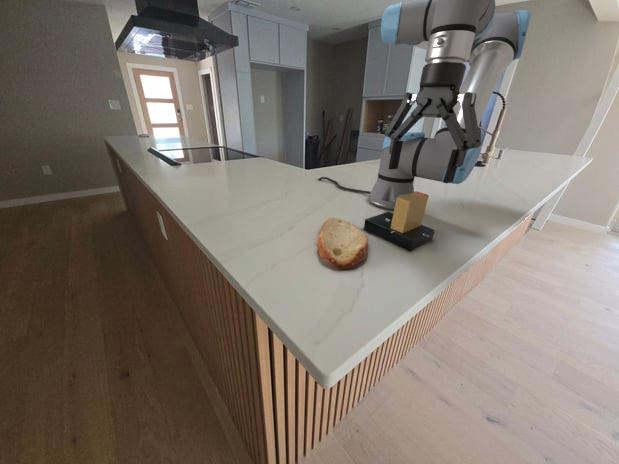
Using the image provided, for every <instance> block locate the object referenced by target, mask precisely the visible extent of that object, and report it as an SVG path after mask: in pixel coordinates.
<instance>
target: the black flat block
mask: <svg viewBox="0 0 619 464" xmlns="http://www.w3.org/2000/svg"><path fill="white" fill-rule="evenodd" d="M393 214H394V212H390V211H386V212H383V213H379V214H377V215H374V216H370V217H368V218H364V225H363V230H364V231H367V232H368V233H370V234H372V235H375V236H377V237H379V238H380V239H383V240H385V241H387V242H389V243H391V244H393V245H395V246H397V247H399V248H402V249H403V250H406V251H408V252H412V251H414V250H416V249H418V248H419V247H421V246H424V245H426V244H427V243H429V242H431V241H432V240H433V237H434V234H435V232H436V229H434V228H432V227H429V226H426V225H424V224H421V226H419V227H417V228H414V229H412V230H410V231H407V232H405V233H401V232H398V231H396V230H394V229H391V223H392V218H393Z"/></svg>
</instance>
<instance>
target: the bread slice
mask: <svg viewBox="0 0 619 464" xmlns="http://www.w3.org/2000/svg"><path fill="white" fill-rule="evenodd" d="M368 244H369V239H368V237H367V235H366V233H365V232H362V230H360V228H359V227H357V225H355V224H353V223H351V222H349V221H346V220H345V219H341V218H336V217H327V218H326V220H324V222H323V224H322V227H321V230H320V232H319V235H318V238H317V243H316V246H317V251H318V254H319V256H320V257H321V259H322V260H323V261H324V262H326V263H327V264H328V265H330V266H332V267H334V269H336V270H350V269H354V268H355V267H356V266H357V265H358V264H359V263H360V262H362V261H364V260H365V259H366V258H367V257H368V256H367V255H368V254H369V245H368Z"/></svg>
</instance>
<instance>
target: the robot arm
mask: <svg viewBox="0 0 619 464" xmlns="http://www.w3.org/2000/svg"><path fill="white" fill-rule="evenodd" d="M530 22H531V11H530V10H526V9H525V10H516V9H515V10H513V11H509V12H501V13H496V0H409V1H404V2H403V1H400V2H397V3H394V4H391V5H389V6H387V8H385V10H384V12H383V14H382V17H381V23H380V36H381V40H382V42H383V43H384V44H385V45H386V46H389V45H390V46H391V45H394V46H397V45H408V46H412V47H415V48H419V49H422V50H426V53H425V57H424V61H425V63H426V64H425V65H424V66H423V67H422V72H421V75H420V81H419V90H418V92H417V93H414V92H408V91H407V92H405V93H404V94H403V97H402V102H401V103H400V106H399V107H398V109H397V111H396V113H395V114H394V116H393V118H392V119H391V121H390V123H389V124H388V127H386V130H385V132H384V136H385V137H384V140H383V143H382V147H381V154H380V155H381V156H380V161H379V167H378V174H377V179H376V181H375V183H374V185H373V187H372V189H371V191H369V190H362V189H356V188H350V187H345V186H343V185H340V184H339V182H338V181H336V180H334V179H332V178H330V177H327V176H321V177H318V179H317V181H322V180H327V181H329V182H331V183H333V184H335V185H336V187H337V188H339V189H342V190H345V191H348V192H355V193H360V194H368V202H369V203H370V204H371V205H373V206H376V207H378V208H381V209H385V210H389V211H394V209H395V204H396V199H397V197H400V196H403V195H407V194H410V193H414V192H415V189H414V181H415V178H420V179H425V180H430V181H435V182H441V183H443V184H453V185H454V184H455V185H460V184H463V182H465V181H466V180H467V179H468V178H469V176H470V175H471V173H472V171H473V170H474V169H475V166H476V164H477V162H478V159H479V157H480V155H481V151H482V142H481V136H480V130H479V126H480V123H481V121H482V120H483V116H484V114H485V112H486V109H487V107H488V104H489V102H490V100H491V98H492V95H493V93H494V91H495V88H496V86H497V83H498V81H499V79H500V76H501V75H502V72H503V71H504V70H506V69H507V68H508V67H509V66H510V65H511V64H512V62H513V61H516V60H519V59H520V58H521V57H522V54H523V49H524V46H525V41H526V37H527V33H528V29H529V25H530ZM465 63H468V65H469V69H468V71H467V74H466V75H465V73H466V70H467V66H466V64H465ZM464 77H465V78H464ZM414 104H416V105H417V106H416V107H415V108H414V109H413V110H412V111H411V109H412V107H413V105H414ZM409 112H410V114H409ZM408 114H409V116H408V117H407V115H408ZM422 118H437V119H441V120H442V121H443V122H444V124H445V125H444V126H443V127H441V128H439V129H438V130H437V131H436V132H435V134H434V137H426V133H425V132H424V131H411V132H409V131H410V130H411V128H413V127H414V126H415V125H416V124H417V122H419V121H420V120H421V119H422Z"/></svg>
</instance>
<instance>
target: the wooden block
mask: <svg viewBox="0 0 619 464" xmlns="http://www.w3.org/2000/svg"><path fill="white" fill-rule="evenodd" d="M429 197H430V196H429V194H428V193H427V194H426V193H423V192H420V191H417V190H416V191H415V190H414V193H410V194H407V195H403V196H400V197H397V199H396V204H395V209H394V210H393V218H392V223H391V229H394V230H396V231H398V232H401V233H405V232H407V231H410V230H412V229H414V228H417V227H419V226H421V225H422V222H423V219H424V215H425V212H426V208H427V204H428V201H429Z"/></svg>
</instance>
